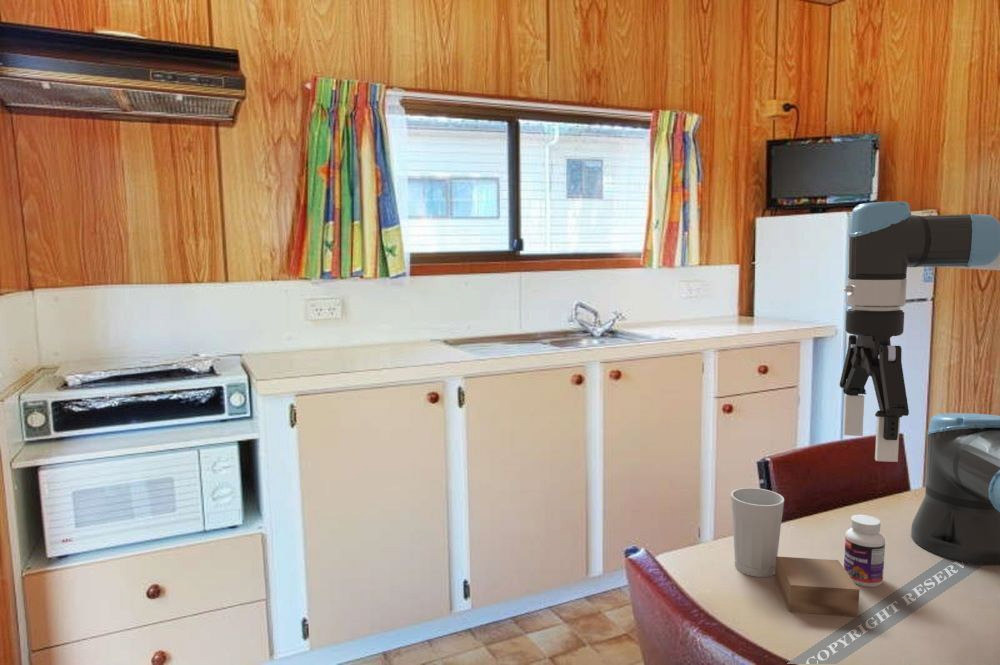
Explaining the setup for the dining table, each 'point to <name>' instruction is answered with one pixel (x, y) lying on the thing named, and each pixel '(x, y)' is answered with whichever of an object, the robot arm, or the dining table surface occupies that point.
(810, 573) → the base
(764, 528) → the cup
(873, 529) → the pill bottle
